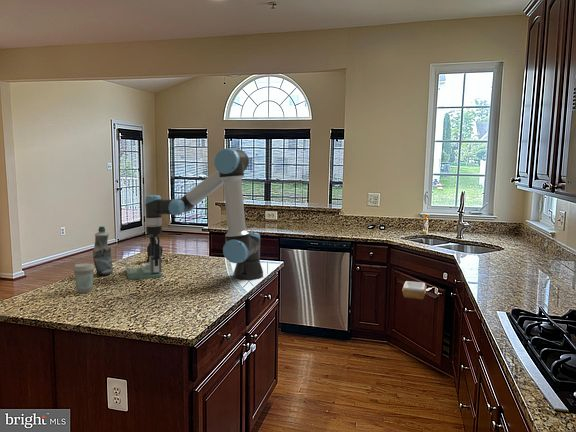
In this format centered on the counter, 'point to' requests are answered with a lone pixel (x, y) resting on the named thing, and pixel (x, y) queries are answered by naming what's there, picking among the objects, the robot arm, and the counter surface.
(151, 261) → the plug
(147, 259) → the mug
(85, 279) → the coffee cup
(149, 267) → the fan
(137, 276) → the translucent green tray
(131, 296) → the counter surface
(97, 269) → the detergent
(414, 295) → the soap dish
